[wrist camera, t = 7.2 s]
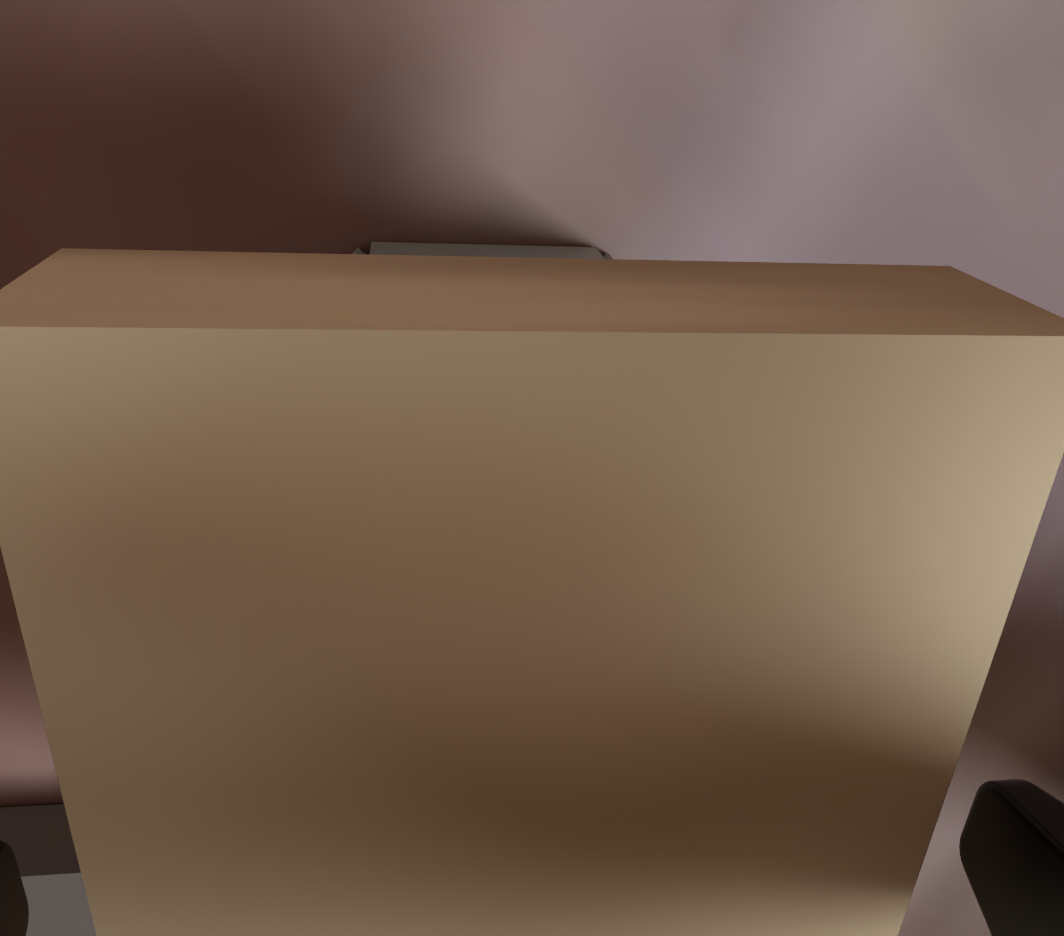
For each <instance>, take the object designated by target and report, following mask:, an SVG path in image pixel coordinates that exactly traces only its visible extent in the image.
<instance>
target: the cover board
mask: <svg viewBox="0 0 1064 936" xmlns="http://www.w3.org/2000/svg"><path fill="white" fill-rule="evenodd" d="M1063 453H1064V318H1062V317H1060V316H1057V315H1055V314H1053V313H1051V312H1049V311H1047V310H1044V309H1042V308H1040V307H1038V306H1036V305H1033V304H1031V303H1029V302H1027V301H1025V300H1023V299H1020V298H1018V297H1016V296H1014V295H1012V294H1009V293H1007V292H1005V291H1003V290H1001V289H999V288H996V287H994V286H992V285H990V284H988V283H986V282H983V281H981V280H979V279H977V278H975V277H972V276H970V275H968V274H966V273H964V272H962V271H959V270H957V269H955V268H953V267H951V266H917V265H867V264H817V263H767V262H718V261H668V260H618V259H568V258H518V257H468V256H418V255H368V254H318V253H268V252H218V251H168V250H118V249H68V248H61V249H60V250H58V251H57V252H55V253H54V254H52V255H51V256H49V257H48V258H46V259H45V260H43V261H42V262H40V263H39V264H37V265H36V266H34V267H33V268H32V269H30V270H29V271H27V272H26V273H24V274H23V275H21V276H20V277H18V278H17V279H15V280H14V281H12V282H11V283H9V284H8V285H6V286H5V287H3V288H2V289H0V547H1V551H2V555H3V559H4V563H5V567H6V571H7V575H8V579H9V583H10V588H11V592H12V596H13V600H14V604H15V608H16V612H17V616H18V620H19V624H20V628H21V632H22V636H23V640H24V644H25V648H26V652H27V656H28V660H29V664H30V668H31V673H32V677H33V681H34V685H35V689H36V693H37V697H38V701H39V705H40V709H41V713H42V717H43V721H44V725H45V729H46V733H47V737H48V741H49V745H50V749H51V753H52V758H53V762H54V766H55V770H56V774H57V778H58V782H59V786H60V790H61V794H62V798H63V802H64V806H65V810H66V814H67V818H68V822H69V826H70V830H71V834H72V839H73V843H74V847H75V851H76V855H77V859H78V863H79V867H80V871H81V875H82V879H83V883H84V887H85V891H86V895H87V899H88V903H89V907H90V911H91V915H92V919H93V924H94V928H95V932H96V936H898V933H899V930H900V927H901V925H902V922H903V919H904V916H905V913H906V910H907V907H908V904H909V901H910V898H911V895H912V892H913V890H914V887H915V884H916V881H917V878H918V875H919V872H920V869H921V866H922V863H923V860H924V858H925V855H926V852H927V849H928V846H929V843H930V840H931V837H932V834H933V831H934V828H935V825H936V823H937V820H938V817H939V814H940V811H941V808H942V805H943V802H944V799H945V796H946V793H947V791H948V788H949V785H950V782H951V779H952V776H953V773H954V770H955V767H956V764H957V761H958V758H959V756H960V753H961V750H962V747H963V744H964V741H965V738H966V735H967V732H968V729H969V726H970V724H971V721H972V718H973V715H974V712H975V709H976V706H977V703H978V700H979V697H980V694H981V691H982V689H983V686H984V683H985V680H986V677H987V674H988V671H989V668H990V665H991V662H992V659H993V657H994V654H995V651H996V648H997V645H998V642H999V639H1000V636H1001V633H1002V630H1003V627H1004V624H1005V622H1006V619H1007V616H1008V613H1009V610H1010V607H1011V604H1012V601H1013V598H1014V595H1015V592H1016V590H1017V587H1018V584H1019V581H1020V578H1021V575H1022V572H1023V569H1024V566H1025V563H1026V560H1027V557H1028V555H1029V552H1030V549H1031V546H1032V543H1033V540H1034V537H1035V534H1036V531H1037V528H1038V525H1039V523H1040V520H1041V517H1042V514H1043V511H1044V508H1045V505H1046V502H1047V499H1048V496H1049V493H1050V490H1051V488H1052V485H1053V482H1054V479H1055V476H1056V473H1057V470H1058V467H1059V464H1060V461H1061V458H1062V456H1063Z"/></svg>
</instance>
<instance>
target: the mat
mask: <svg viewBox="0 0 1064 936" xmlns="http://www.w3.org/2000/svg"><path fill="white" fill-rule="evenodd" d="M0 840H5V841H6V842H8V843H9V844H10V845H11V847H12V849H13V851H14V854H15V858H16V861H17V865H18V868H19V872H20V875H21V879H22V882H23V886H24V890H25V893H26V897H27V900H28V906H29V921H28V928H27V933H26V936H96V932H95V928H94V924H93V919H92V915H91V911H90V907H89V903H88V899H87V895H86V891H85V887H84V883H83V879H82V875H81V871H80V867H79V863H78V859H77V855H76V851H75V847H74V843H73V839H72V834H71V830H70V826H69V822H68V818H67V814H66V810H65V806H64V804H55V805H37V806H19V807H1V808H0Z"/></svg>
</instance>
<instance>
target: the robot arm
mask: <svg viewBox="0 0 1064 936" xmlns="http://www.w3.org/2000/svg"><path fill="white" fill-rule="evenodd" d="M959 848H960V856H961V861H962V864H963V867H964V870H965V872H966V875H967V877H968V879H969V882H970V884H971V887H972V889H973V891H974V894H975V896H976V899H977V901H978V903H979V906H980V908H981V911H982V913H983V915H984V918H985V920H986V923H987V925H988V928H989V930H990V932H991V935H992V936H1064V803H1062V802H1061V801H1059V800H1058V799H1056V798H1055V797H1053V796H1051V795H1050V794H1048V793H1047V792H1045V791H1044V790H1042V789H1040V788H1039V787H1037V786H1036V785H1034V784H1032V783H1030V782H1028V781H1025V780H1019V779H1014V780H997V781H988V782H985V783H984V784H983V785H981V786H980V787H979V789H978V791H977V793H976V796H975V799H974V801H973V804H972V807H971V809H970V812H969V815H968V818H967V820H966V823H965V826H964V829H963V831H962V834H961V838H960V846H959ZM28 921H29V906H28V900H27V897H26V893H25V890H24V886H23V882H22V879H21V875H20V872H19V868H18V865H17V861H16V858H15V854H14V851H13V849H12V847H11V845H10V844H9V843H8V842H6V841H5V840H0V936H26V933H27V928H28Z"/></svg>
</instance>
